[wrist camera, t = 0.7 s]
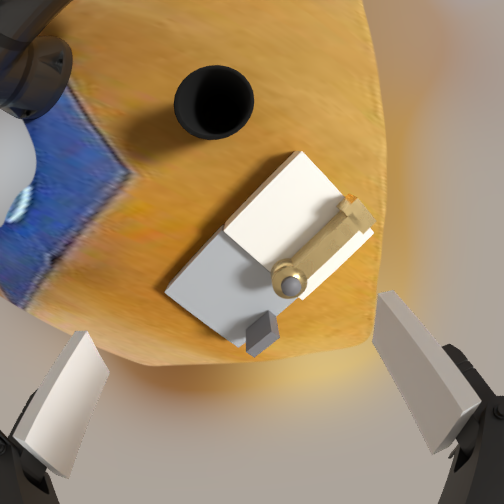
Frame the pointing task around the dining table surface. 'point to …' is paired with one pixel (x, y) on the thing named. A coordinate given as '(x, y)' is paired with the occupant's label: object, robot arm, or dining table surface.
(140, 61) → the dining table surface
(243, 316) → the doorframe
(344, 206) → the bar
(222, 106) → the cup
